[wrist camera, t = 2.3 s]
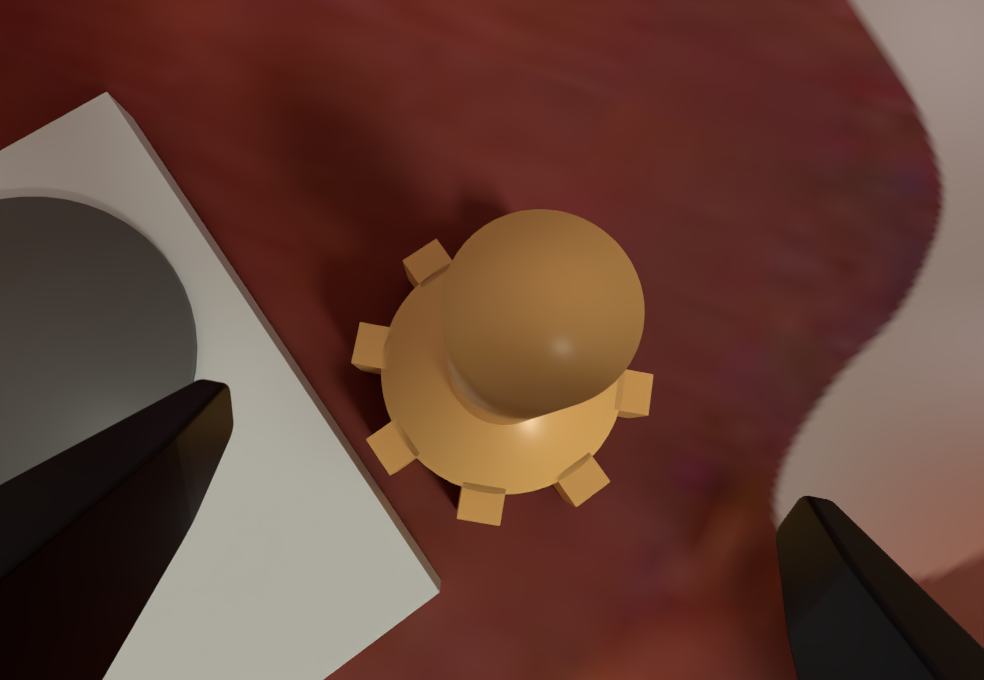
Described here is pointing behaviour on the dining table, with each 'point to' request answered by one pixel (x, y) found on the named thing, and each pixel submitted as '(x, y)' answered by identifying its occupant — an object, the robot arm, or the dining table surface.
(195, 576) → the carrier plate
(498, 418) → the planet gear
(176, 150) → the dining table surface
